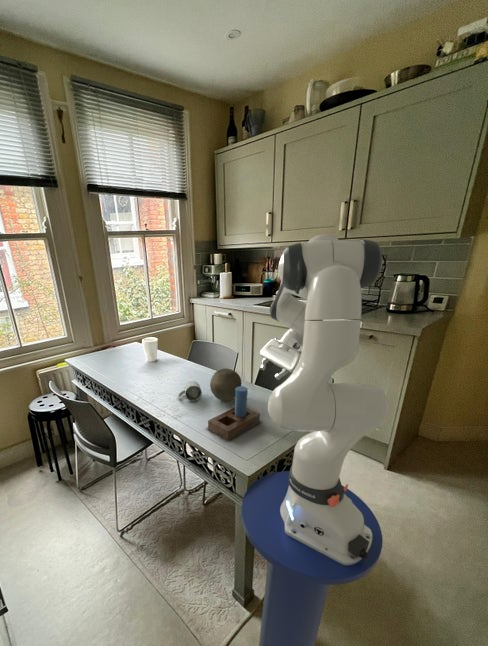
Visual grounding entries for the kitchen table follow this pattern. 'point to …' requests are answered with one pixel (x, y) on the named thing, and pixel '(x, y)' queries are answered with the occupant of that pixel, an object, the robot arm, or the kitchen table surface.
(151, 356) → the foam cup
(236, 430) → the peg block
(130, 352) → the kitchen table surface
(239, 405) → the peg
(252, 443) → the kitchen table surface
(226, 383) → the cantaloupe
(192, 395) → the ceramic mug
